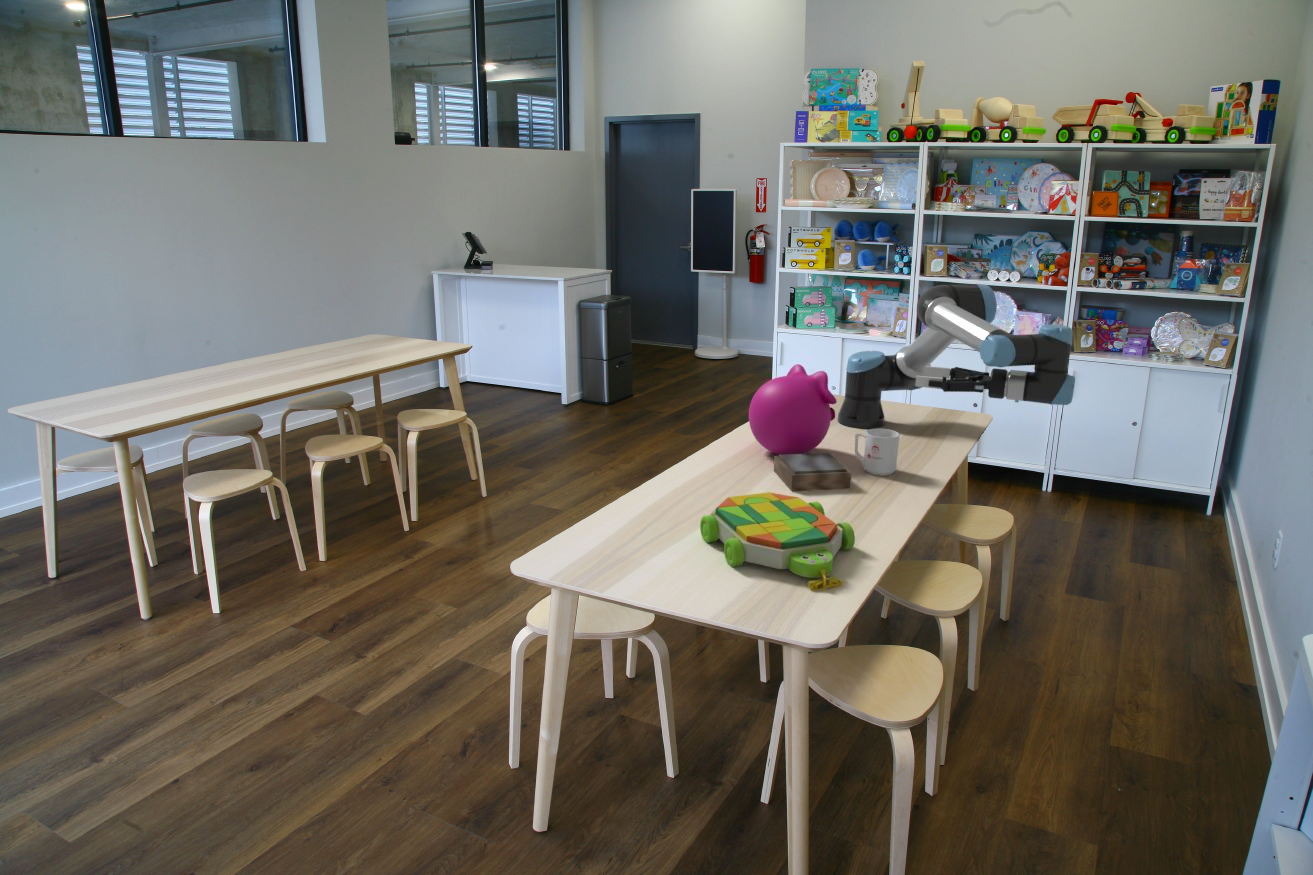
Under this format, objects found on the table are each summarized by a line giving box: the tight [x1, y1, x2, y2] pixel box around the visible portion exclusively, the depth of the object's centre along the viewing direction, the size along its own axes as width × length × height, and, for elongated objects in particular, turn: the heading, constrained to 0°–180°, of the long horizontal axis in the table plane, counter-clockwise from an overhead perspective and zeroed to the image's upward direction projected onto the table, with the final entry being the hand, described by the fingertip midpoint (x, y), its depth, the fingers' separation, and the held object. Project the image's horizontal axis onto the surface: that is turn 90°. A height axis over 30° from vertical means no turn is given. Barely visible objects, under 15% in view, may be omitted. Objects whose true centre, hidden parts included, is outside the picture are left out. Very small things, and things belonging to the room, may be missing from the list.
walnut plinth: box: [773, 452, 852, 492], centre depth 229 cm, size 16×16×5 cm
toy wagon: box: [699, 492, 856, 592], centre depth 184 cm, size 29×38×7 cm
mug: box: [854, 428, 900, 477], centre depth 235 cm, size 12×9×11 cm
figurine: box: [748, 364, 838, 455], centre depth 247 cm, size 23×24×25 cm
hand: (920, 375), depth 224 cm, fingers open, 13 cm apart
